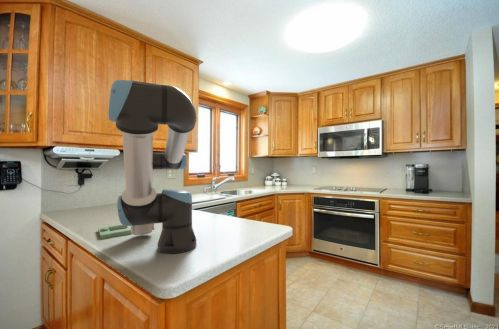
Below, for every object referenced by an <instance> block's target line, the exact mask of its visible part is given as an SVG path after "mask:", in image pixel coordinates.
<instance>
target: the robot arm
mask: <svg viewBox="0 0 499 329" xmlns="http://www.w3.org/2000/svg"><path fill="white" fill-rule="evenodd" d="M109 92H110V94H109V101H108V112H107V113H108V115H107V116H108V120H109V121H111V122H112V123H115V128H116V129H117V130H118V131H119V132H120V133H122V134H121V136H122V147H123V161H124V177H125V181H124V182H125V189H124V190H123V192H122V193H121V195H119V196H118V197H117V204H116V205H117V216H118V219H119V222H120V225H124V226H128V227H130V229H131V233H134V226H136V225H145V224H152V231H154V230H155V224H161V227H162V228H161V231H160V232H161V233H160V235H159V239H158V242H157V250H158V252H160V253H163V254H179V253H180V254H181V253H185V252H188V251H191V250H193V249H195V248H196V247H197V238H196V235H195V231H194V228H193V195H192V193H191V192H190V191H187V190H181V189H171V188H164V189H162V191H161V192H160V193H158V192H157V190H156V188H154V187H153V172H154V170H156V171H157V170H176V171H178V170H185V169H186V168H187V155H186V154H185V151H186V147H187V143H188V140H189V137H190V133H191V132H192V131H193V130H194V129H195V126H196V123H197V112H196V111H197V110H196V108H195V105H194V103H193V102H192V99H191V98H190V97H189V96H188V95H187V94H186V93H185V92H184V91H182V90H181V89H179V88H178V87H176V86H174V85H169V84H166V85H165V84H159V83H151V82H144V81H138V80H133V79H131V80H129V79H128V80H126V79H115V80H114V81H113V82H112V84H111V88H110V91H109ZM159 125H167V135H166V144H165V151H164V152H154V151H153V147H154V146H153V144H154V143H153V141H154V133H156V132H158V131H159Z"/></svg>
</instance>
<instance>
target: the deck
mask: <svg viewBox="0 0 499 329" xmlns="http://www.w3.org/2000/svg"><path fill="white" fill-rule="evenodd" d="M128 227H129V226H124V225H122V224H115V225H109V226H108V225H107V226H100V227H98V229H97V231H98V234H99V237H100V240H104V239H109V238H110V239H111V238H114V237H120V236H125V235H133V233H131V228H130V229H128ZM122 229H126V230H122ZM114 230H115V231H114ZM116 230H117V231H116ZM118 230H120V231H118ZM111 231H112V232H111Z"/></svg>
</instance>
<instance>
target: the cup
mask: <svg viewBox="0 0 499 329" xmlns="http://www.w3.org/2000/svg"><path fill="white" fill-rule="evenodd" d="M152 232H153V230H152V224H145V225H136V226H134V233H133V234H132V235H134V236H142V235H143V236H144V235H149V234H152Z"/></svg>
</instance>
